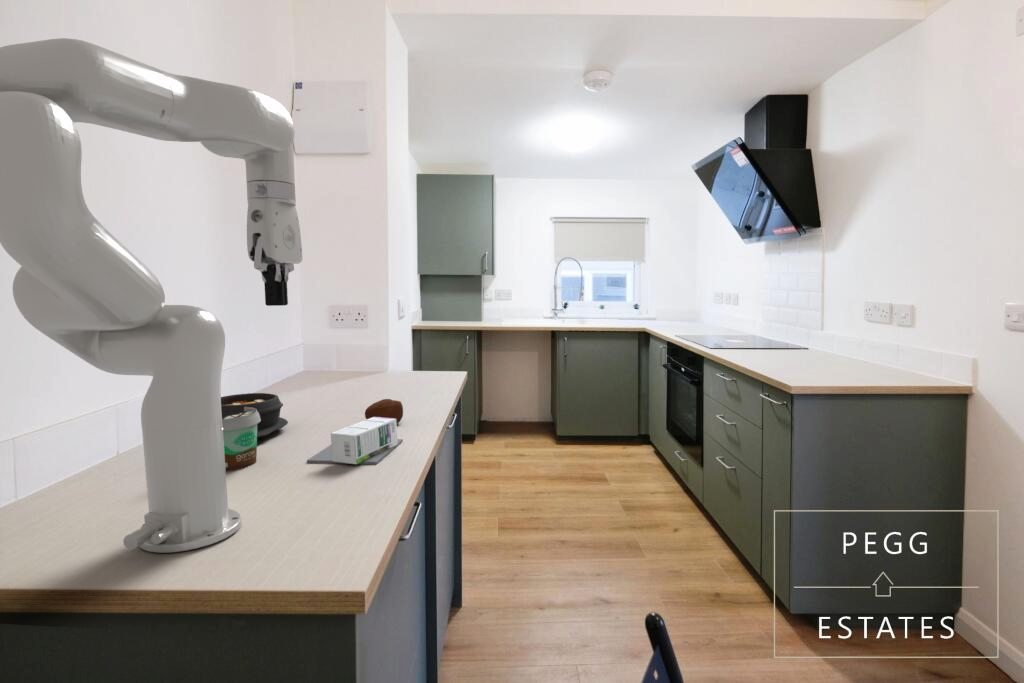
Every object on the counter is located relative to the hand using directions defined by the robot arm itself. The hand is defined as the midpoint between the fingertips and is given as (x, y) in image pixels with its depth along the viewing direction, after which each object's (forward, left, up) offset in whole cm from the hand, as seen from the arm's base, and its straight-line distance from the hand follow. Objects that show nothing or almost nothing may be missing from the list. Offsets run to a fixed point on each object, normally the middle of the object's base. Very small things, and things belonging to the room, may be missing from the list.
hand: (276, 305), depth 99 cm
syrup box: (+8, -7, -27) cm, 29 cm away
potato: (+40, -4, -31) cm, 51 cm away
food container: (+8, +13, -31) cm, 35 cm away
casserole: (+30, +26, -31) cm, 50 cm away
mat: (+18, -6, -31) cm, 36 cm away
